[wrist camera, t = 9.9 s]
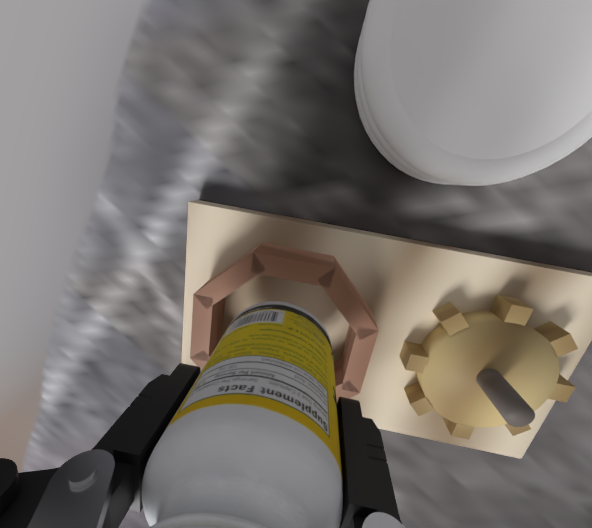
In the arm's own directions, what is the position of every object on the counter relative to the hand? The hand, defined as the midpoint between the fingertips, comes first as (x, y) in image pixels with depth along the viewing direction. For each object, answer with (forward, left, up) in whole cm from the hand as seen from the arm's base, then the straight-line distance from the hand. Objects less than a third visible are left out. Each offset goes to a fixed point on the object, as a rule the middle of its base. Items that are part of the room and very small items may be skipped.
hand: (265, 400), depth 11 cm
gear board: (-5, 0, -7) cm, 8 cm away
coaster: (-6, -14, -7) cm, 17 cm away
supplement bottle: (0, 0, -4) cm, 4 cm away
